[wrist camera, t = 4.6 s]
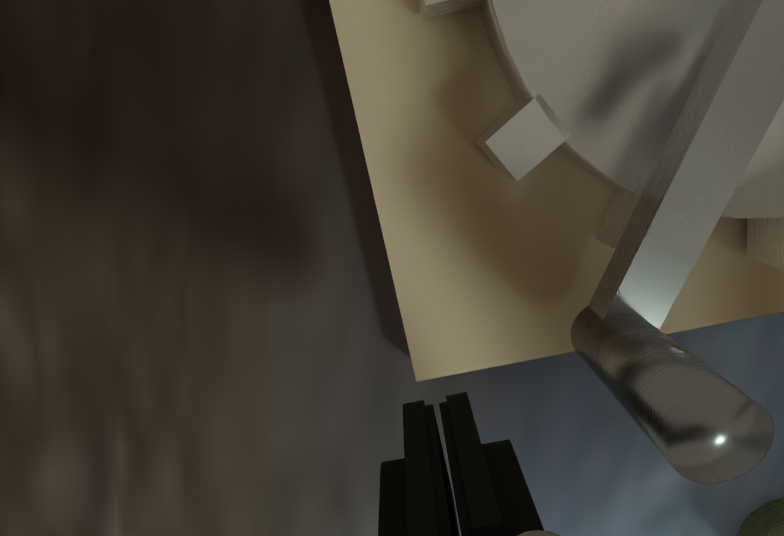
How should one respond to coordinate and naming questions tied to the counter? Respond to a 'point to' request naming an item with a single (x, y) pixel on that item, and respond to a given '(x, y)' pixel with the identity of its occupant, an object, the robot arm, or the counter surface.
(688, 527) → the counter surface
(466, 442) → the robot arm
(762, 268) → the sprocket plate
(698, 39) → the sprocket
